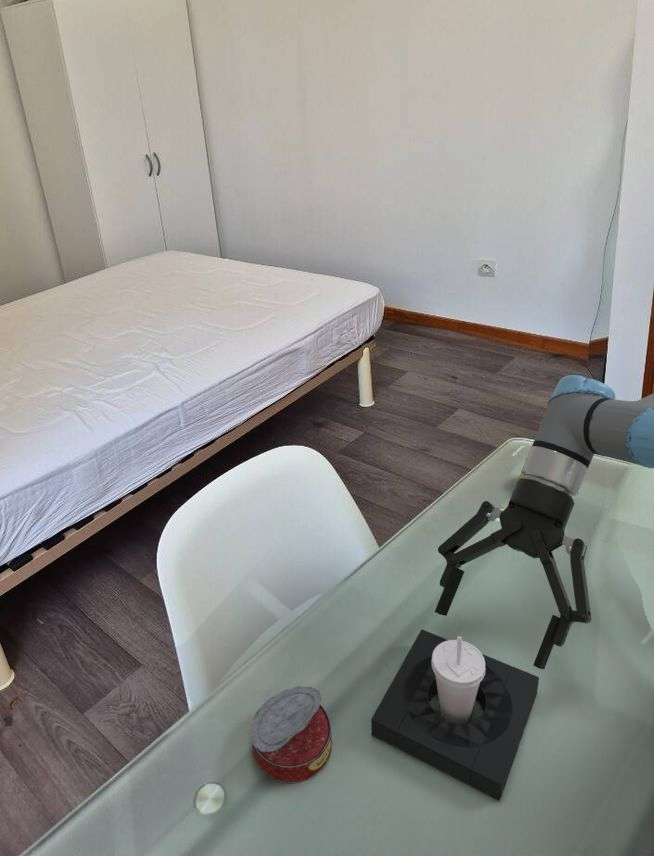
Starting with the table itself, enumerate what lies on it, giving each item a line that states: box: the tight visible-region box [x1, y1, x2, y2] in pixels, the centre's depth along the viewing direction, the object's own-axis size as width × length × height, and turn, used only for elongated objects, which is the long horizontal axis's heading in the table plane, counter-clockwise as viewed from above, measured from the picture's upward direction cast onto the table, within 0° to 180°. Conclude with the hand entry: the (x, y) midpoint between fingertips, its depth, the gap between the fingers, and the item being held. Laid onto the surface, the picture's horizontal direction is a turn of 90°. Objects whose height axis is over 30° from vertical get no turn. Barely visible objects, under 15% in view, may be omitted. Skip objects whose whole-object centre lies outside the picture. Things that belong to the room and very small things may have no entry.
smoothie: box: [431, 635, 486, 724], centre depth 85 cm, size 6×6×14 cm
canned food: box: [249, 685, 333, 784], centre depth 84 cm, size 11×10×10 cm
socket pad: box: [370, 628, 540, 802], centre depth 87 cm, size 16×16×3 cm
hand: (487, 639), depth 88 cm, fingers open, 13 cm apart
